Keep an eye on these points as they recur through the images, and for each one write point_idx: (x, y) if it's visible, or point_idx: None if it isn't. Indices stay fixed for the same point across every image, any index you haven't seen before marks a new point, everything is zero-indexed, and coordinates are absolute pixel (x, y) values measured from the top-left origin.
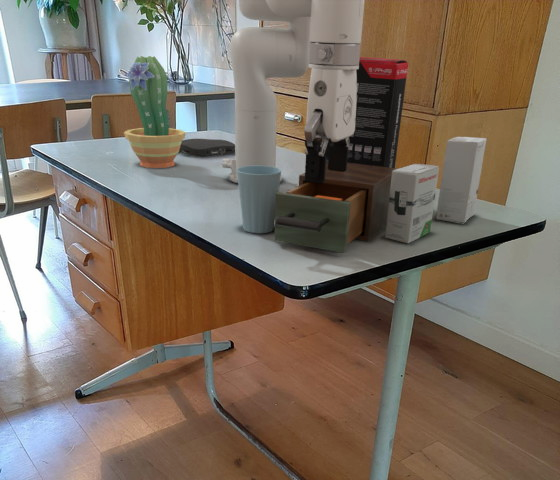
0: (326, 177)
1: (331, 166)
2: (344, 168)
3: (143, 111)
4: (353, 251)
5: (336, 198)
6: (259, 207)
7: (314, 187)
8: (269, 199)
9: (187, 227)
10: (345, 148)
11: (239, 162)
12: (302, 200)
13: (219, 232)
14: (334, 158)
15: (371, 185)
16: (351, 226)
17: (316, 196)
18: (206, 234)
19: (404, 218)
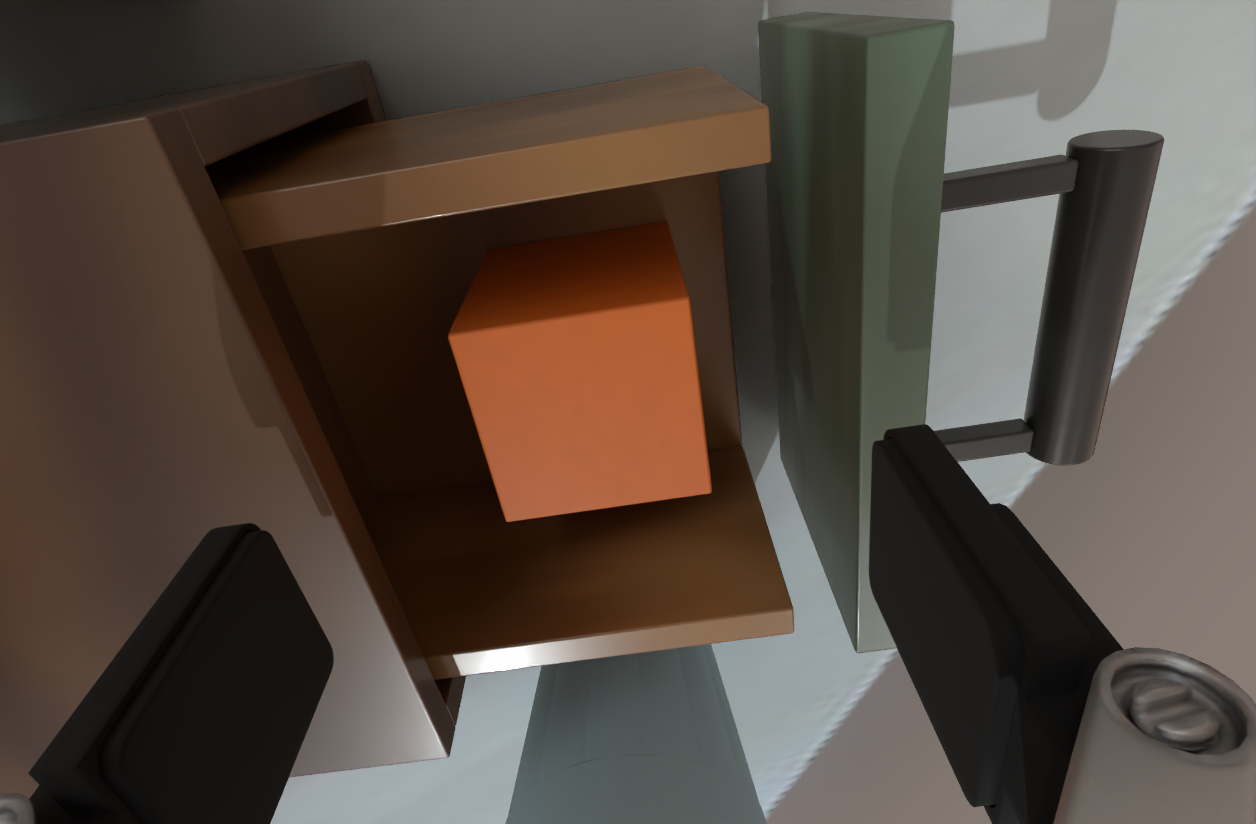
0: (331, 615)
1: (312, 660)
2: (249, 545)
3: None
4: (624, 32)
5: (485, 374)
6: (709, 676)
7: None
8: (673, 688)
9: (785, 768)
10: (121, 760)
11: None
12: None
13: (770, 677)
14: (263, 718)
15: (165, 146)
16: (614, 93)
17: (549, 507)
18: (823, 692)
19: None
